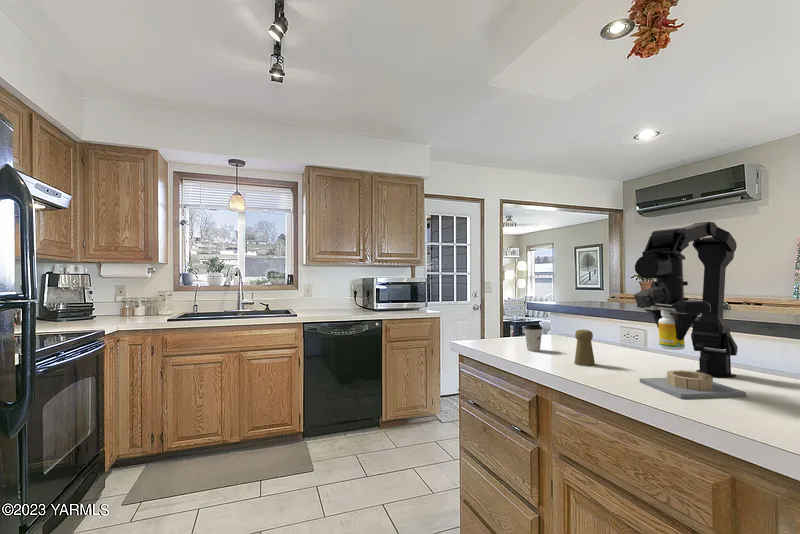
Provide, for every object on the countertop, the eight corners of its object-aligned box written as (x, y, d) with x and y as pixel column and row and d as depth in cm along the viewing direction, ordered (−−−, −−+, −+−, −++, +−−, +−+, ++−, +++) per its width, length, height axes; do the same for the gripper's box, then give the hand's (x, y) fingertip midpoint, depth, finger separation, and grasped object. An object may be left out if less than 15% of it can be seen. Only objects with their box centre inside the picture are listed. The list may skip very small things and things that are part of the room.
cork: (574, 365, 123) (573, 330, 123) (574, 361, 129) (573, 328, 129) (596, 366, 121) (595, 331, 121) (594, 362, 126) (593, 329, 127)
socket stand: (696, 380, 104) (696, 367, 104) (746, 396, 90) (745, 381, 90) (639, 382, 103) (639, 368, 103) (680, 398, 89) (680, 383, 89)
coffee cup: (522, 351, 147) (521, 324, 147) (526, 348, 153) (526, 322, 153) (541, 352, 143) (540, 325, 144) (545, 349, 149) (544, 323, 150)
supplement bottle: (665, 345, 103) (663, 309, 103) (688, 348, 98) (687, 310, 99) (655, 347, 100) (653, 310, 100) (678, 350, 95) (677, 312, 96)
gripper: (617, 278, 109) (619, 333, 108) (664, 278, 90) (667, 345, 90) (656, 277, 109) (658, 332, 109) (711, 277, 90) (713, 344, 90)
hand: (671, 338), depth 99 cm, fingers closed on supplement bottle, 5 cm apart
